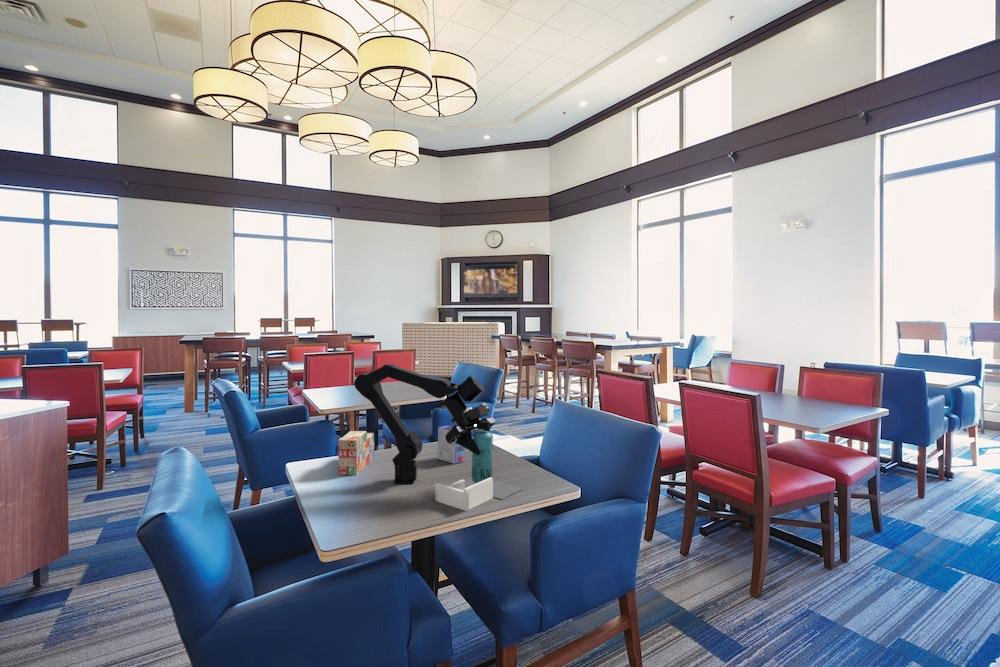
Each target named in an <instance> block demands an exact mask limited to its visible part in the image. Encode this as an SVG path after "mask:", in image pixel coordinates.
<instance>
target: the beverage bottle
mask: <svg viewBox="0 0 1000 667" xmlns="http://www.w3.org/2000/svg"><path fill="white" fill-rule="evenodd" d="M476 428H478V429H489V428H490V425H489V421H487V420H482V419H481V420H479V421H477V425H476ZM490 429H491V428H490ZM472 439H473V440H474V442H475V444H476V446H477V447H478V449H479V451H480V454H479V455H476V454H475V453H473V452H471V453H472V456H471V479H472V481H473V482H474V483H478V482H481V481H483V480H485V479H488V478H490V477H491V478H493V473H494V470H493V458H494V455H493V454H494V453H493V450H494V449H493V448H494V444H493V443H494V442H493V440H494V435H493V433H491V431H490V432H489V431H484V430H481V431H474V432H473V433H472Z"/></svg>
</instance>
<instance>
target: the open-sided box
mask: <svg viewBox="0 0 1000 667" xmlns="http://www.w3.org/2000/svg"><path fill="white" fill-rule="evenodd" d="M493 480H494V477H492V478H491V477H490V478H488V479H485V480H483V481H481V482H478V483H476V484H474V485H471V486H469V487H467V488H465V482H466V480H465V479H460V480H458V481H455V482H453V483H451V484H449V485H448V484H447V485H446V484H443V483H439V482H436V483H434V487H435V488H434V501H436V502H438V503H440V504H444V505H447V506H450V507H453V508H456V509H459V510H462V511H464V512H468V511H469V510H471V509H474V508H475V507H477V506H479V505H483V503H486V502H487V501H490V500H492V499H494V497H493Z"/></svg>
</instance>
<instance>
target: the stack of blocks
mask: <svg viewBox="0 0 1000 667" xmlns="http://www.w3.org/2000/svg"><path fill="white" fill-rule="evenodd" d="M337 442H338V443H337V444H338V452H337V453H338V476H357V475H358V474H359V473H361V471H363V469H364V468H365V467H366V466H367V465H368V464H369V462H371V461H372V460H373V459H374V458H375V434H374V432H367V430H350V431H348V432H347V433H346V434H345V435H343V436H342V437H340V438H339V439H338V441H337Z"/></svg>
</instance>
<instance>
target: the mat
mask: <svg viewBox="0 0 1000 667" xmlns="http://www.w3.org/2000/svg"><path fill="white" fill-rule="evenodd" d="M474 484H476V483H474V482H473V481H472V478H471V479H469V480H467V481H466V480H465V488H467V487H469V486H471V485H474ZM523 490H524V488H523V487H519V486H517V485H513V484H509V483H505V482H501V481H497V480H494V479H493V499H498V500H501V501H503V500H505V499H507V498H510V497H511V496H512V495H515V494H516V493H518V492H519V493H520V491H523Z"/></svg>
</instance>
